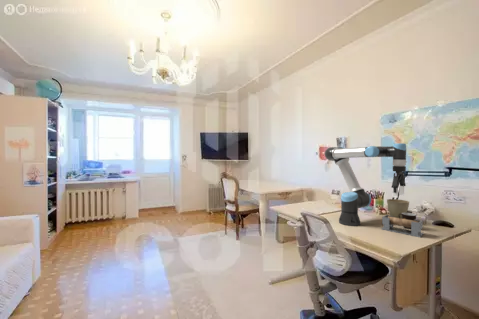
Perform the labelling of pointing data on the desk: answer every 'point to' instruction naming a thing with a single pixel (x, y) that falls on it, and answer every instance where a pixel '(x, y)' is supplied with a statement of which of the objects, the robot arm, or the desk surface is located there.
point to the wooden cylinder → (401, 222)
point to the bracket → (413, 232)
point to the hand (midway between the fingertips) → (398, 196)
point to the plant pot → (397, 207)
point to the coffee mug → (408, 217)
